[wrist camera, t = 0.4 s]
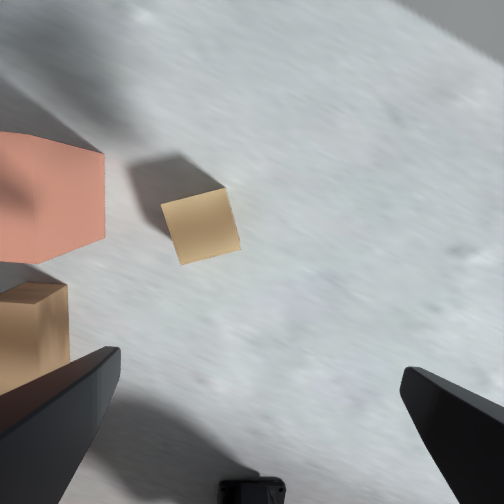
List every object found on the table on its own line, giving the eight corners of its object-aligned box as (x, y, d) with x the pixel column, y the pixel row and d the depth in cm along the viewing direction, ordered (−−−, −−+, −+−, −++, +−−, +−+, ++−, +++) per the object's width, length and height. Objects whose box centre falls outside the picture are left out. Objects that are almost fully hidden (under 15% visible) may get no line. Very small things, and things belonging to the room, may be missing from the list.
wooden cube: (239, 238, 22) (240, 249, 18) (189, 251, 22) (180, 265, 18) (225, 187, 21) (224, 187, 17) (174, 201, 21) (160, 204, 17)
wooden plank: (75, 467, 26) (47, 517, 22) (41, 466, 26) (6, 516, 22) (69, 283, 22) (34, 304, 18) (28, 280, 22) (-16, 300, 18)
